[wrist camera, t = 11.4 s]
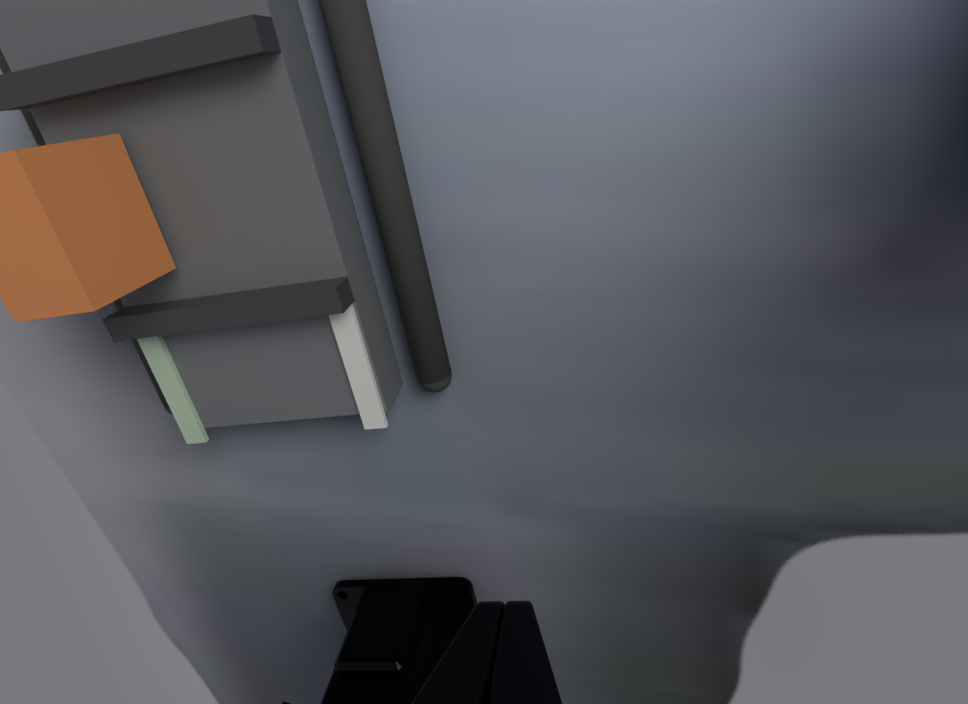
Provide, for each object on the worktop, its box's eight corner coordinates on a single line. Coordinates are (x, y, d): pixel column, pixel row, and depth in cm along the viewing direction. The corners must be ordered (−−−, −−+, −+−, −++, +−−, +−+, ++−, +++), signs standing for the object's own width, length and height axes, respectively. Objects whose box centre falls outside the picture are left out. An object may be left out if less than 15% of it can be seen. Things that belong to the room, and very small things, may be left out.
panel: (405, 394, 22) (382, 441, 19) (216, 412, 23) (171, 457, 21) (253, -160, 15) (184, -208, 12) (-1, -82, 16) (-112, -110, 14)
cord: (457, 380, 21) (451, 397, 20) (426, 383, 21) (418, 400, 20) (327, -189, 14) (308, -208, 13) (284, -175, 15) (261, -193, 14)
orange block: (176, 268, 18) (94, 311, 15) (108, 278, 18) (15, 322, 15) (119, 133, 16) (13, 150, 13) (45, 148, 17) (-73, 168, 14)
